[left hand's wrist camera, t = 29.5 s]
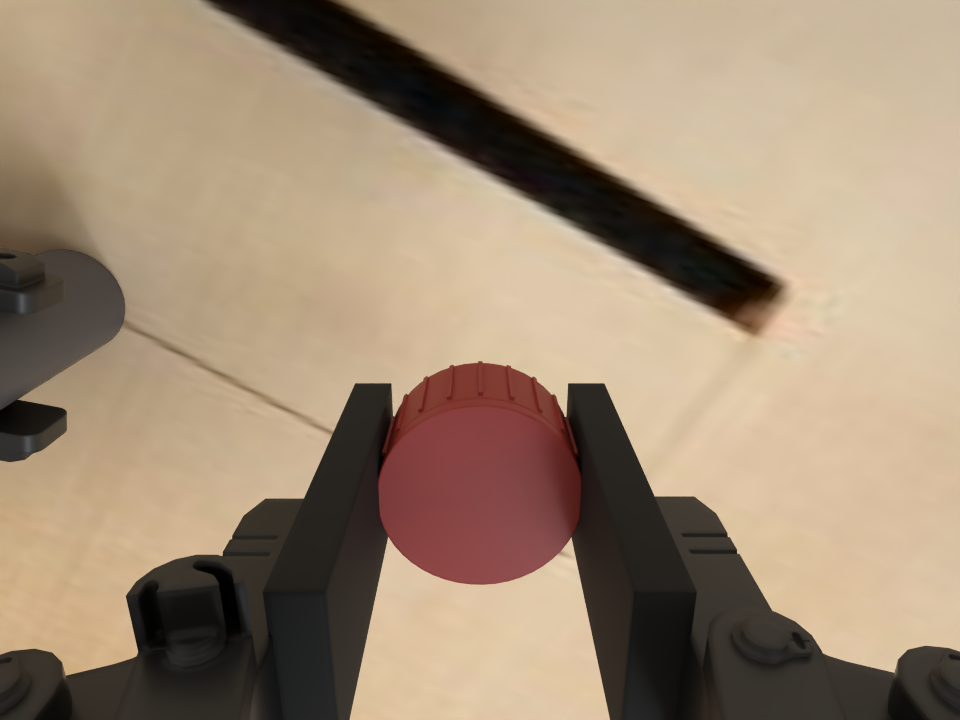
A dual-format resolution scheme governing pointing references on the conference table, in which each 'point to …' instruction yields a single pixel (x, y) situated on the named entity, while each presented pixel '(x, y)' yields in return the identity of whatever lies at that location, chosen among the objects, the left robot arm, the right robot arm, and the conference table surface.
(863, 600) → the conference table surface
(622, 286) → the conference table surface
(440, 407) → the cap
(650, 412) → the conference table surface
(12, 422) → the right robot arm
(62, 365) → the bottle
